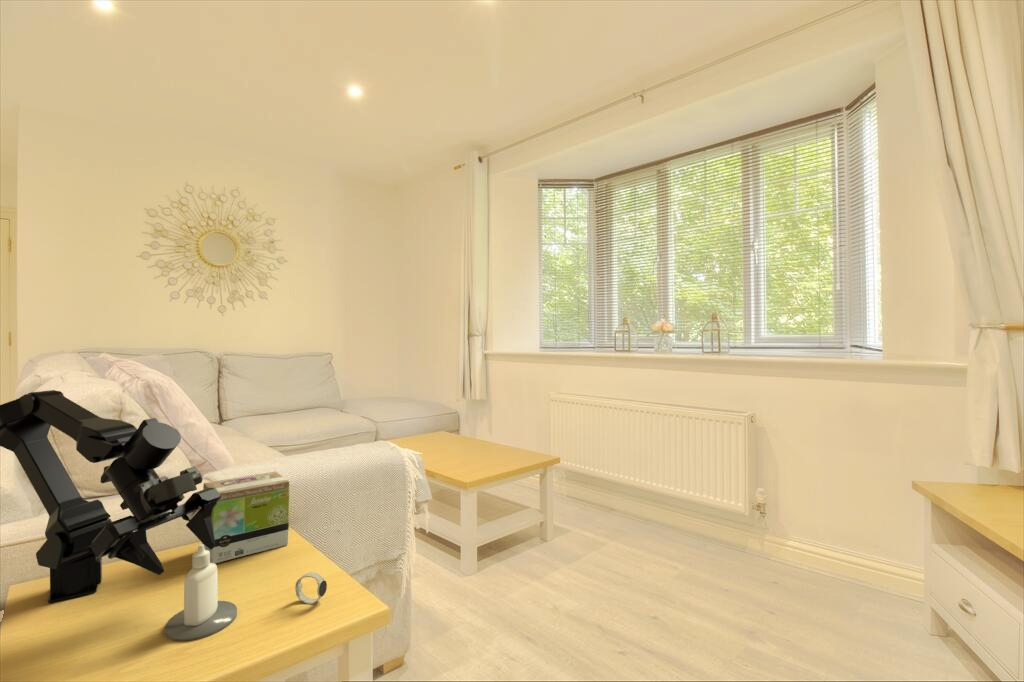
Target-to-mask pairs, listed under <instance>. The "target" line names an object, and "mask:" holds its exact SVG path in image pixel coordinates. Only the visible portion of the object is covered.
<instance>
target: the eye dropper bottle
mask: <svg viewBox="0 0 1024 682" xmlns="http://www.w3.org/2000/svg"><path fill="white" fill-rule="evenodd" d="M191 557H192V559H191V560H192V563H191V564H192V568H191V569H190V570H189V571H188V573H187V575H186V576H185V579H184V582H183V583H184V584H183V610H184V624H185V625H186V626H197V625H200V624H202V623H203V622H205V621H207V620H208V619H209V618H210V617H212V616H213V615H214V613H215V612H216V610H217V607H218V601H219V593H218V592H219V589H218V586H219V585H218V584H219V583H218V580H219V579H218V566H217V563H216V564H214V563H211V562H210V551H208V550H205V548H204V544H202V543H201V544H198V547H197V551H195V552H194V553H192V556H191Z"/></svg>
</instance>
